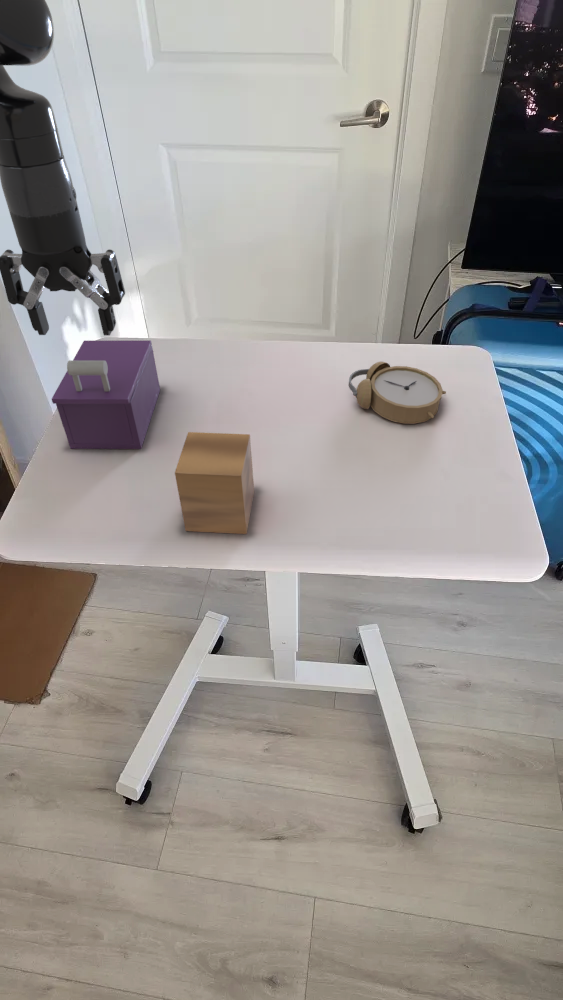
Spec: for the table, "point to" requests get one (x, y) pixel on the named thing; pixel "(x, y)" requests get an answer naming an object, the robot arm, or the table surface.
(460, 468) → the table surface
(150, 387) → the box
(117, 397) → the lid
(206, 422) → the table surface
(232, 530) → the stand
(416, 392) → the alarm clock
